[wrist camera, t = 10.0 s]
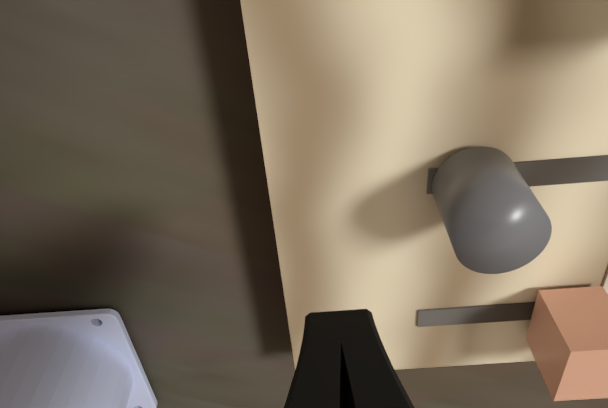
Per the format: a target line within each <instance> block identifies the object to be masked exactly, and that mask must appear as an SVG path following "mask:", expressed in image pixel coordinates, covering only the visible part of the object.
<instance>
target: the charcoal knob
mask: <svg viewBox="0 0 608 408" xmlns="http://www.w3.org/2000/svg"><path fill="white" fill-rule="evenodd" d="M432 192H433V196H434V199H435V202H436V204H437V207H438V210H439V212H440V215H441V218H442V220H443V223H444V225H445V228H446V231H447V233H448V236H449V239H450V241H451V244H452V247H453V249H454V252H455V255H456V257H457V259H458V260H459V261H460V263H461V264H462V265H464V266H465V267H466V268H468V269H470V270H472V271H475V272H478V273H483V274H500V273H506V272H510V271H513V270H516V269H518V268H521V267H523V266H525V265H526V264H528V263H530V262H531V261H532V260H534V259H535V258H536V257H537V256H538V255H539V254H540V253H541V252H542V251H543V250H544V249H545V247H546V246H547V244H548V242H549V240H550V237H551V232H552V226H551V221H550V219H549V217H548V215H547V213H546V212H545V210H544V209H543V207H542V206H541V204H540V203H539V201H538V200H537V198H536V197H535V195H534V194H533V192H532V190H531V189H530V187H529V186H528V184H527V183H526V181H525V180H524V178H523V177H522V175H521V174H520V172H519V171H518V169H517V167H516V166H515V164H514V163H513V161H512V160H511V158H510V157H509V156H508V155H507V154H506V153H504V152H503V151H501V150H499V149H496V148H492V147H486V146H478V147H471V148H467V149H464V150H462V151H459V152H457V153H455V154H454V155H452V156H451V157H449V158H448V159H447V160H446V161H445V162H444V163H443V164H442V165H441V166H440V167H439V169H438V170H437V172H436V174H435V176H434V179H433V183H432Z"/></svg>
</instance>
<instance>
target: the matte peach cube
mask: <svg viewBox="0 0 608 408" xmlns="http://www.w3.org/2000/svg"><path fill="white" fill-rule="evenodd" d="M526 341H527V343H528V345H529V348H530V350H531V352H532V354H533V356H534V359H535V361H536V363H537V365H538V367H539V370H540V372H541V374H542V376H543V379H544V381H545V383H546V385H547V387H548V390H549V392H550V394H551V396H552V398H553V401H563V400H579V399H596V398H608V294H607V293H606V291H605V290H604V288H603V287H602V286H594V287H579V288H564V289H549V290H538V294H537V298H536V302H535V305H534V309H533V313H532V317H531V321H530V324H529V328H528V332H527V336H526Z"/></svg>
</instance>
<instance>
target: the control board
mask: <svg viewBox="0 0 608 408" xmlns="http://www.w3.org/2000/svg"><path fill="white" fill-rule="evenodd" d="M240 2H241V9H242V16H243V22H244V29H245V36H246V43H247V49H248V56H249V63H250V69H251V76H252V83H253V89H254V96H255V103H256V110H257V116H258V123H259V130H260V136H261V143H262V150H263V157H264V163H265V170H266V177H267V183H268V190H269V197H270V204H271V210H272V217H273V224H274V230H275V237H276V244H277V250H278V257H279V264H280V271H281V277H282V284H283V291H284V297H285V304H286V311H287V318H288V324H289V331H290V338H291V344H292V351H293V358H294V365H295V370H296V366H297V362H298V358H299V354H300V349H301V344H302V339H303V333H304V325H305V316H306V315H308V314H309V313H312V312H327V311H341V310H356V309H368V310H369V311H370V312H372V315H373V319H374V322H375V325H376V328H377V331H378V333H379V336H380V339H381V341H382V343H383V346H384V348H385V350H386V353H387V355H388V357H389V359H390V361H391V364H392V366H393V368H394V370H395V369H411V368H427V367H443V366H459V365H475V364H491V363H507V362H523V361H535V359H534V356H533V354H532V352H531V350H530V348H529V345H528V343H527V341H526V336H527V332H528V328H529V324H530V321H531V317H532V313H533V309H534V305H535V302H536V298H537V294H538V290H549V289H564V288H579V287H594V286H602V287H603V288H604V290H605V291H606V293H607V294H608V0H240ZM478 146H486V147H492V148H496V149H499V150H501V151H503V152H504V153H506V154H507V155H508V156H509V157H510V158H511V160H512V161H513V163H514V164H515V166H516V167H517V169H518V171H519V172H520V174H521V175H522V177H523V178H524V180H525V181H526V183H527V184H528V186H529V187H530V189H531V190H532V192H533V194H534V195H535V197H536V198H537V200H538V201H539V203H540V204H541V206H542V207H543V209H544V210H545V212H546V213H547V215H548V217H549V219H550V221H551V226H552V232H551V237H550V240H549V242H548V244H547V246H546V247H545V249H544V250H543V251H542V252H541V253H540V254H539V255H538V256H537V257H536V258H535V259H534V260H532V261H531V262H530V263H528V264H526V265H525V266H523V267H521V268H518V269H516V270H513V271H510V272H506V273H500V274H483V273H478V272H475V271H472V270H470V269H468V268H466V267H465V266H464V265H462V264H461V263H460V261H459V260H458V259H457V257H456V255H455V252H454V249H453V247H452V244H451V241H450V239H449V236H448V233H447V231H446V228H445V225H444V223H443V220H442V218H441V215H440V212H439V210H438V207H437V204H436V202H435V199H434V196H433V192H432V183H433V179H434V176H435V174H436V172H437V170H438V169H439V167H440V166H441V165H442V164H443V163H444V162H445V161H446V160H447V159H448V158H449V157H451V156H452V155H454V154H455V153H457V152H459V151H462V150H464V149H467V148H471V147H478Z"/></svg>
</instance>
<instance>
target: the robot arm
mask: <svg viewBox="0 0 608 408" xmlns="http://www.w3.org/2000/svg"><path fill="white" fill-rule="evenodd" d="M0 408H157V400H156V398H155V395H154V393H153V391H152V388H151V386H150V384H149V381H148V379H147V377H146V374H145V372H144V370H143V367H142V365H141V363H140V361H139V358H138V356H137V354H136V351H135V349H134V347H133V344H132V342H131V340H130V337H129V335H128V333H127V330H126V328H125V326H124V323H123V321H122V319H121V316H120V315H119V313H118V312H117V311H115V310H113V309H93V310H78V311H63V312H49V313H34V314H19V315H5V316H0ZM284 408H414V406H413V404H412V402H411V400H410V399H409V397H408V395H407V393H406V391H405V389H404V387H403V385H402V384H401V382H400V380H399V378H398V376H397V374H396V372H395V370H394V368H393V366H392V364H391V361H390V359H389V357H388V355H387V353H386V350H385V348H384V346H383V343H382V341H381V339H380V336H379V333H378V331H377V328H376V325H375V322H374V319H373V315H372V312H370V311H369V310H368V309H356V310H341V311H327V312H312V313H309V314H308V315H306V316H305V325H304V333H303V339H302V344H301V349H300V354H299V358H298V362H297V366H296V370H295V373H294V377H293V380H292V383H291V387H290V390H289V393H288V397H287V400H286V403H285V406H284Z"/></svg>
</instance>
